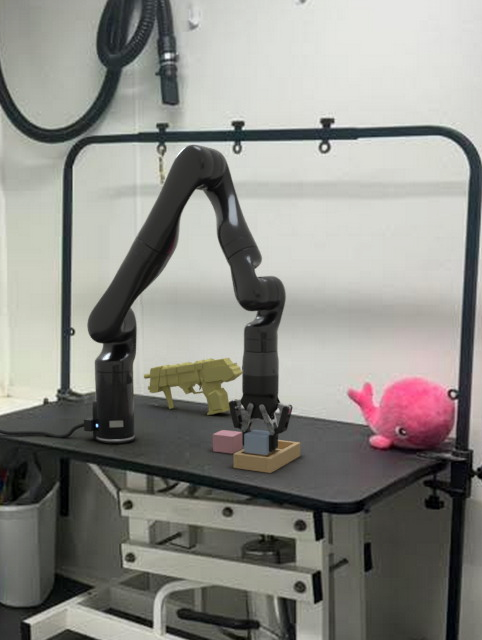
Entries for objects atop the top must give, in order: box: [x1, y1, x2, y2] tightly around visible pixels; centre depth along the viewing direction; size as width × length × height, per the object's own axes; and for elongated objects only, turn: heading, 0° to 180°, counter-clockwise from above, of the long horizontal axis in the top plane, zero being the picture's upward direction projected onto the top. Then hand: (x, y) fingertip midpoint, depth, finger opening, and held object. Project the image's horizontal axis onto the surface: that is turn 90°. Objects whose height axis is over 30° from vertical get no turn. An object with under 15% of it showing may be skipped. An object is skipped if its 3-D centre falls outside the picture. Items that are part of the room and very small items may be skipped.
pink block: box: [212, 429, 243, 455], centre depth 215 cm, size 5×5×4 cm
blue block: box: [243, 429, 271, 455], centre depth 200 cm, size 5×5×4 cm
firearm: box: [143, 357, 242, 416], centre depth 257 cm, size 4×30×15 cm, turn 51°
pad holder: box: [232, 439, 301, 474], centre depth 204 cm, size 8×16×3 cm, turn 144°
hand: (259, 449), depth 200 cm, fingers closed on blue block, 5 cm apart
